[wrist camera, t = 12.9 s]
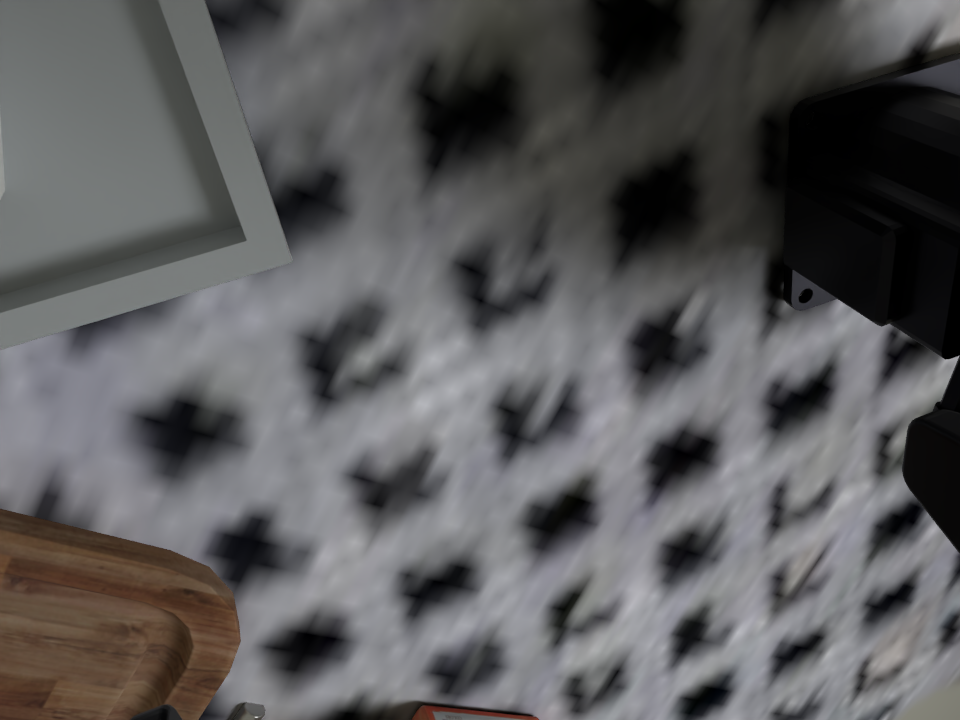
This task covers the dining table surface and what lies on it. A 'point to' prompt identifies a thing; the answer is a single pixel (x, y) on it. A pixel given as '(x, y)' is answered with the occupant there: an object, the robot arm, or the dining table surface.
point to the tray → (121, 163)
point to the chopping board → (108, 626)
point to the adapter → (1, 166)
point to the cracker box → (462, 714)
